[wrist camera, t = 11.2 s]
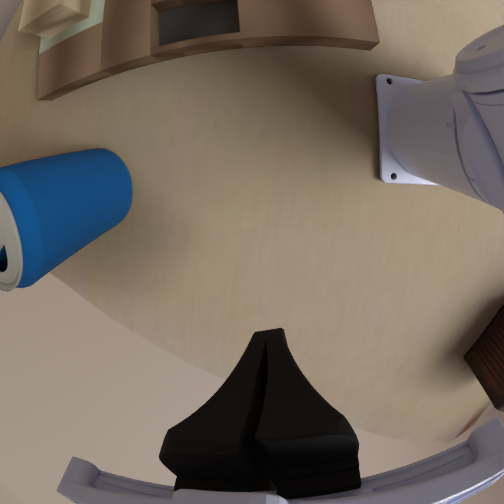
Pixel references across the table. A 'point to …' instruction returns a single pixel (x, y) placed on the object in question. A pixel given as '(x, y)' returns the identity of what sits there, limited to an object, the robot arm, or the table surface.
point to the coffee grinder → (490, 360)
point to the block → (52, 16)
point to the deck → (191, 34)
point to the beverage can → (57, 210)
